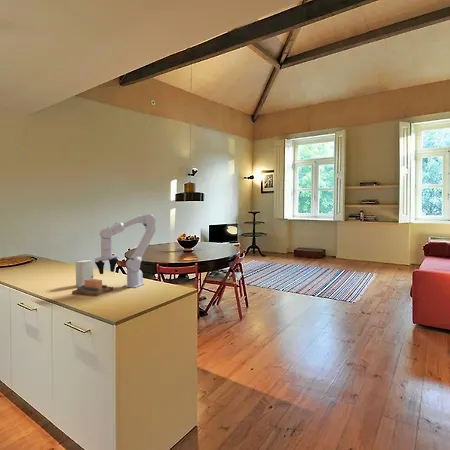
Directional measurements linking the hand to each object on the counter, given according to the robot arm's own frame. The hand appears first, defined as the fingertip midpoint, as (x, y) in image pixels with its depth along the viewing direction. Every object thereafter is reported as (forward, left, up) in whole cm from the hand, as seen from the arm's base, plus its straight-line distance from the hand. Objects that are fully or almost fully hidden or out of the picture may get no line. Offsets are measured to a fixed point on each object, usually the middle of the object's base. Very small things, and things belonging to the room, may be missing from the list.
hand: (107, 272), depth 189 cm
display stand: (+7, -4, -9) cm, 12 cm away
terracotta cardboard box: (+7, -4, -8) cm, 11 cm away
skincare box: (-4, -19, -10) cm, 22 cm away
